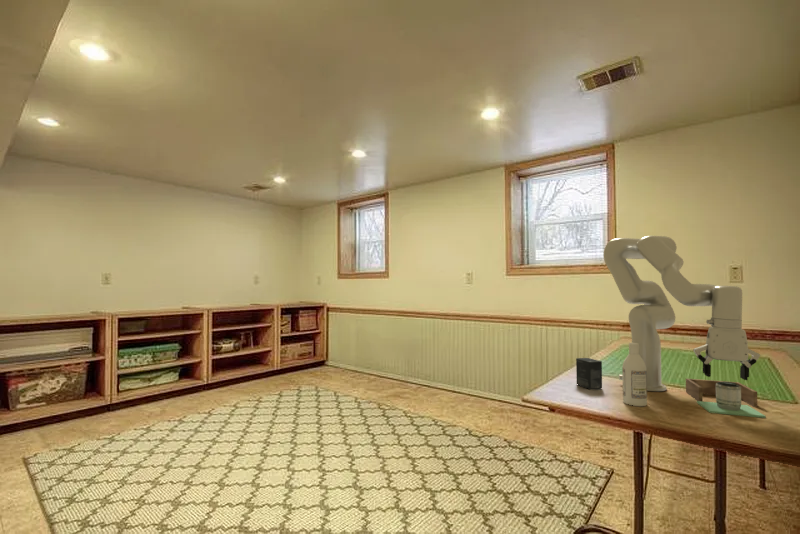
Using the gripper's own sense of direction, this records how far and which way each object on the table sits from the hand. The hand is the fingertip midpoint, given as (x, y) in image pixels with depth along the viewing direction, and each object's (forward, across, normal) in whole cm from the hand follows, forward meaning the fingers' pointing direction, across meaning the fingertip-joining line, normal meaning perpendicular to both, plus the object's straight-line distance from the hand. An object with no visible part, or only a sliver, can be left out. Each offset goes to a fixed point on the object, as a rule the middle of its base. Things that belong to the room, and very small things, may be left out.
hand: (725, 377), depth 129 cm
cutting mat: (+10, +1, -1) cm, 10 cm away
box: (+12, -38, +14) cm, 42 cm away
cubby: (+10, +3, +12) cm, 16 cm away
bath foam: (+11, -26, -4) cm, 29 cm away
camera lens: (+10, +1, -1) cm, 10 cm away
